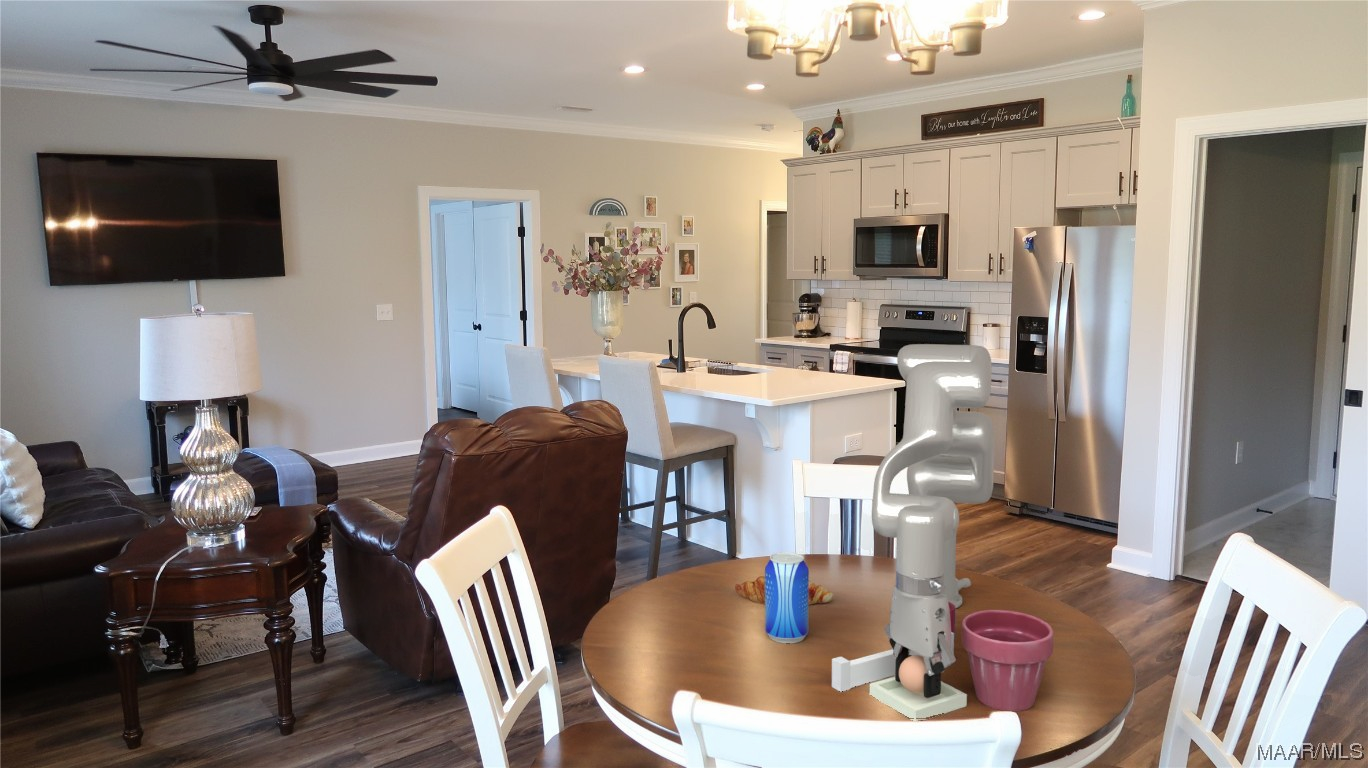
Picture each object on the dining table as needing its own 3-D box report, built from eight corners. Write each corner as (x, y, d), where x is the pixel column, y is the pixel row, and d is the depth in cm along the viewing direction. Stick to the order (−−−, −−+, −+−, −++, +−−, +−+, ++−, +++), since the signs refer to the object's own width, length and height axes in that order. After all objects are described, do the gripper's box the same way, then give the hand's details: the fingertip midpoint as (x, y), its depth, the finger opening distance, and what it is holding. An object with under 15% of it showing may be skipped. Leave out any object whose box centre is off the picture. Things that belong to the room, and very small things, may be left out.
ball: (918, 680, 155) (918, 646, 154) (943, 694, 150) (944, 659, 149) (890, 688, 152) (891, 654, 151) (916, 703, 147) (916, 667, 146)
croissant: (832, 614, 199) (833, 577, 202) (832, 608, 190) (833, 569, 193) (736, 607, 203) (738, 571, 205) (731, 601, 193) (734, 563, 196)
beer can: (806, 646, 173) (807, 565, 171) (762, 643, 175) (762, 562, 173) (809, 629, 181) (810, 551, 180) (767, 627, 183) (767, 549, 181)
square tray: (918, 680, 158) (919, 669, 158) (966, 706, 149) (966, 694, 149) (869, 695, 153) (869, 683, 153) (915, 722, 143) (915, 710, 143)
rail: (943, 654, 169) (944, 628, 168) (953, 659, 167) (954, 633, 166) (831, 686, 156) (831, 658, 156) (840, 692, 154) (840, 664, 154)
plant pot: (1003, 727, 142) (1006, 648, 140) (942, 690, 154) (943, 618, 153) (1070, 707, 148) (1073, 632, 146) (1005, 674, 160) (1008, 604, 159)
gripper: (976, 594, 143) (973, 703, 145) (900, 564, 158) (899, 663, 160) (941, 602, 139) (938, 714, 141) (866, 571, 154) (865, 673, 156)
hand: (917, 686), depth 151 cm, fingers closed on ball, 5 cm apart
